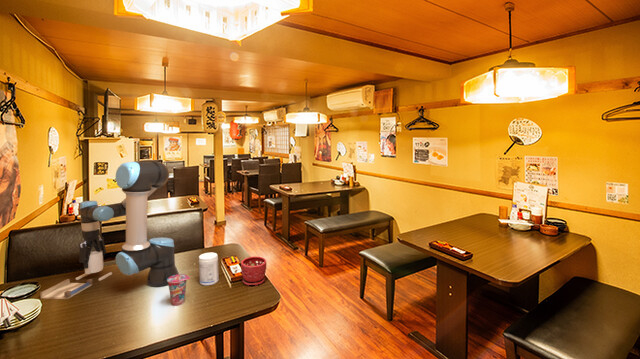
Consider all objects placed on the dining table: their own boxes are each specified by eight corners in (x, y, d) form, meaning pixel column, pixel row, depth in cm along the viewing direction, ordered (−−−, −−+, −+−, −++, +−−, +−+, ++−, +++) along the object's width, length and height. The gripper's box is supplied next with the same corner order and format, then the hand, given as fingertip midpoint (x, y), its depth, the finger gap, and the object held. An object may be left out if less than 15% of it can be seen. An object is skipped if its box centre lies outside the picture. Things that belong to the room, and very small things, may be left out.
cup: (168, 309, 126) (166, 283, 125) (168, 300, 134) (166, 276, 132) (191, 304, 130) (190, 279, 129) (190, 296, 138) (189, 272, 137)
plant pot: (236, 285, 149) (235, 263, 148) (251, 275, 161) (251, 254, 160) (257, 290, 144) (257, 267, 143) (271, 279, 156) (271, 258, 155)
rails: (112, 274, 161) (112, 272, 161) (100, 280, 153) (100, 278, 153) (88, 273, 161) (88, 271, 161) (75, 279, 153) (75, 278, 153)
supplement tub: (208, 276, 159) (207, 251, 157) (222, 279, 156) (221, 253, 154) (195, 284, 150) (194, 257, 148) (210, 287, 147) (209, 259, 145)
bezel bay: (92, 284, 148) (92, 279, 147) (68, 299, 134) (67, 292, 134) (68, 284, 148) (67, 278, 148) (40, 298, 134) (40, 291, 134)
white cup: (93, 274, 152) (92, 256, 151) (81, 273, 153) (80, 255, 152) (107, 268, 159) (106, 251, 158) (96, 267, 161) (94, 250, 160)
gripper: (99, 224, 164) (102, 263, 167) (66, 235, 144) (71, 278, 146) (111, 224, 164) (115, 263, 166) (81, 234, 144) (85, 278, 146)
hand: (94, 270), depth 156 cm, fingers closed on white cup, 7 cm apart
